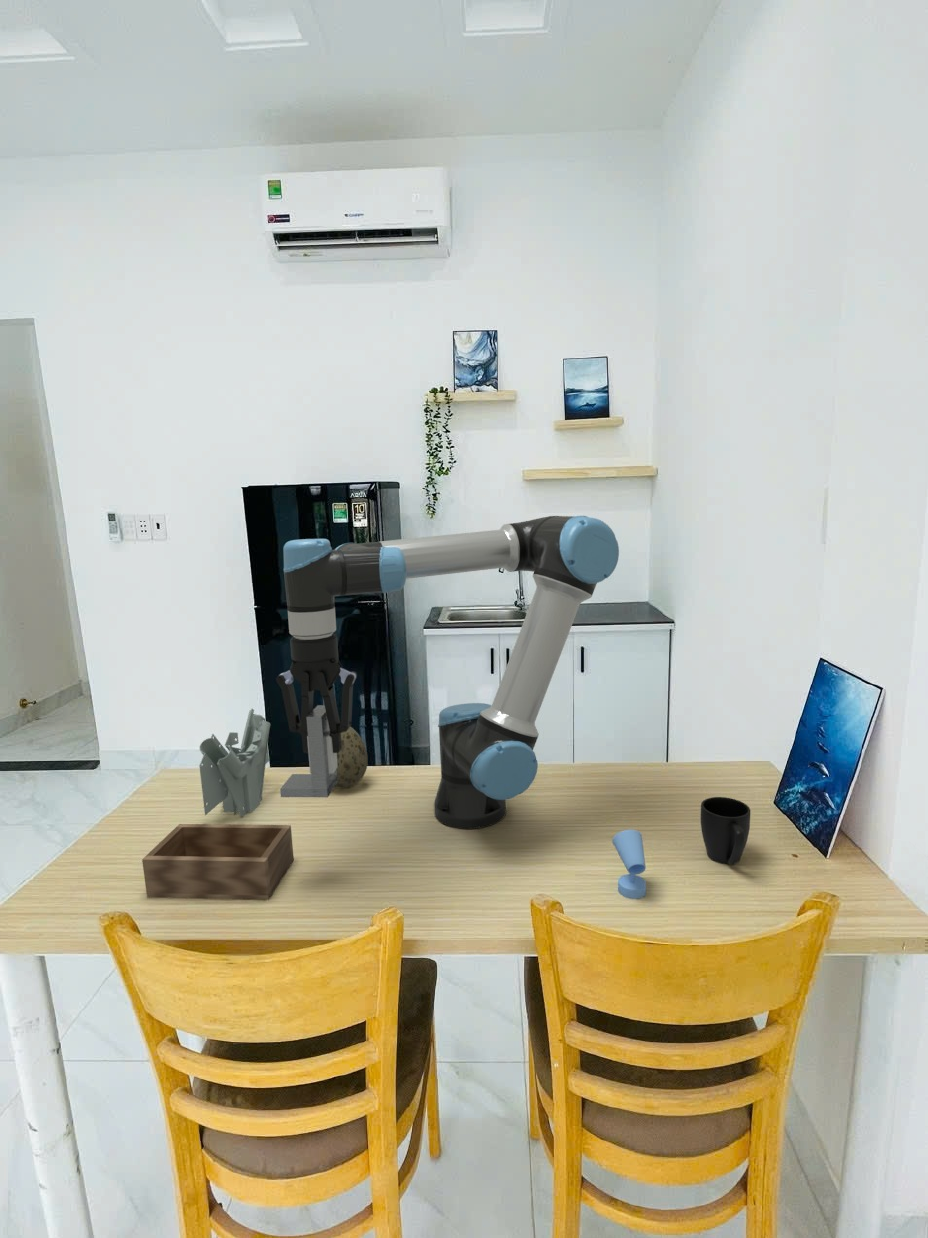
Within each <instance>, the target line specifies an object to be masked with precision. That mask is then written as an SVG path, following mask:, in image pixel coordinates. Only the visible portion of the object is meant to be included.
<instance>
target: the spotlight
mask: <svg viewBox="0 0 928 1238" xmlns="http://www.w3.org/2000/svg"><path fill="white" fill-rule="evenodd" d="M612 843H613V846H614V848H615V850H616V851H617V853H618V856H619V857H620V859H621V861H622V863H623V865H624V867H625V868H626V870H627V873H628V874H622V875H621V876H620V877H619V878H618V879H617V892H618V893H619V894H620V895H621V896H622V897H624V898H626V899H630V900H631V899H632V900H638V899H641V898H643V897H645V896H646V894H647V883H646V880H645V879H644V878H643V877H641V876H640V874H643V873H644V872H645V871H646V869H647V868H646V858H645V852H644V843H643V836H642V833H641V832H640V831H639V830H636V829H625V830H622V831H620V832H618V833H616V834H615V835H614V836H613V838H612Z"/></svg>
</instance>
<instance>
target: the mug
mask: <svg viewBox="0 0 928 1238" xmlns="http://www.w3.org/2000/svg"><path fill="white" fill-rule="evenodd" d="M700 803H701V804H700V828H701V830H700V831H701V835H702V839H703V843H704V847H705V850H706V855H707V857H708V858H709V859H710V860H712V861H713V862H716V863H718V864H721V865H722V864H724V865H730V866H731V865H732V866H733V865H736V864H737V863H739V862H740V861H741V857H742V855H743V853H744V850H745V848H746V845H747V842H748V838H749V833H750V829H751V828H750V827H751V811H752V810H751V809H750V806H749V805H747V804H746V803H744V802H742V801H741V800H737V799H734V798H731V797H727V796H726V797H725V796H714V797H709V798H705V799H703V800H702V802H700Z"/></svg>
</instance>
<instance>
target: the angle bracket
mask: <svg viewBox="0 0 928 1238" xmlns="http://www.w3.org/2000/svg"><path fill="white" fill-rule="evenodd" d="M306 718H307V731H308V743H309V754H308V756H309V755H310V766H309V768H310V767H311V773H292V774H291V775H290V776H289V778H288V779H287V780H286V781H285V782H284V784H283V785H282V786H281V787H280V788H279V790H280V792H279V793H280V798H325V799H326V798H329V796H330V794H331V793H332V791H333V790H334V788H336V787H335V785H336V784H337V782H338V781H337V769H336V770H335V772H334V773H329V767H328V754H327V741H326V736H327V735H328V734H329V732H330V729H329V724H328V720H327V715H326V710H325V705H322V704H317V705H316V706H315V707H314V708H313V711H312V712H311V713H310V714H309V715H308V716H307V717H306Z"/></svg>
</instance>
